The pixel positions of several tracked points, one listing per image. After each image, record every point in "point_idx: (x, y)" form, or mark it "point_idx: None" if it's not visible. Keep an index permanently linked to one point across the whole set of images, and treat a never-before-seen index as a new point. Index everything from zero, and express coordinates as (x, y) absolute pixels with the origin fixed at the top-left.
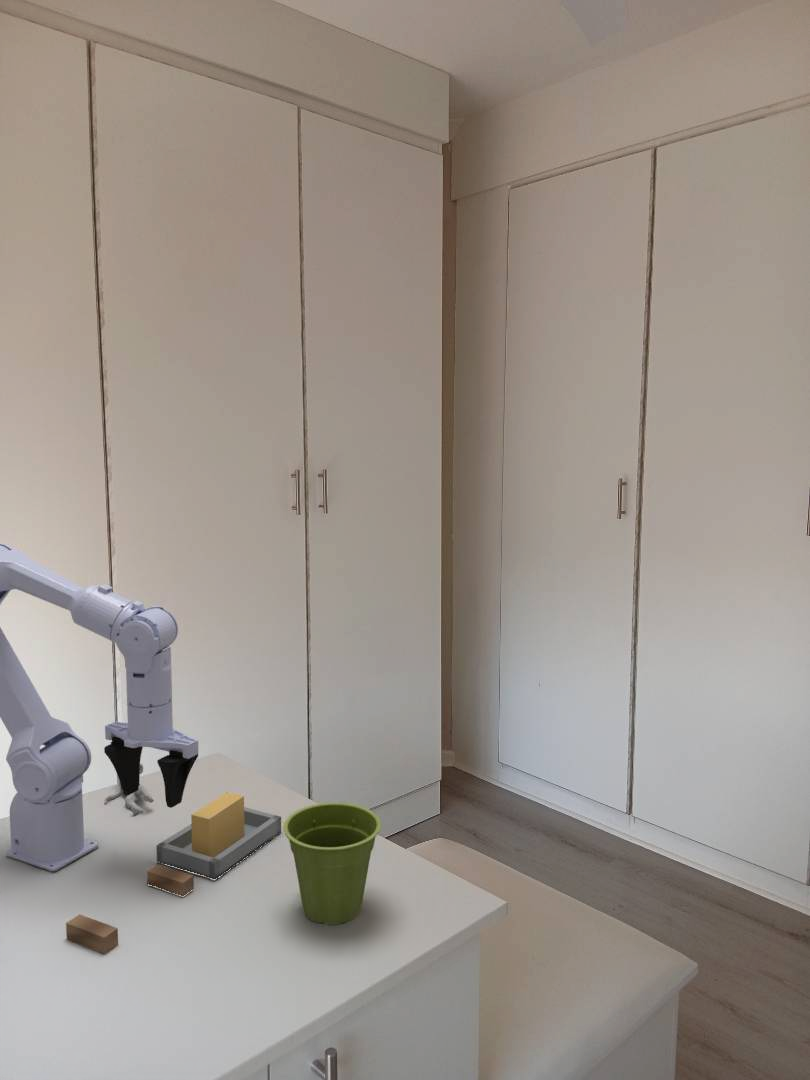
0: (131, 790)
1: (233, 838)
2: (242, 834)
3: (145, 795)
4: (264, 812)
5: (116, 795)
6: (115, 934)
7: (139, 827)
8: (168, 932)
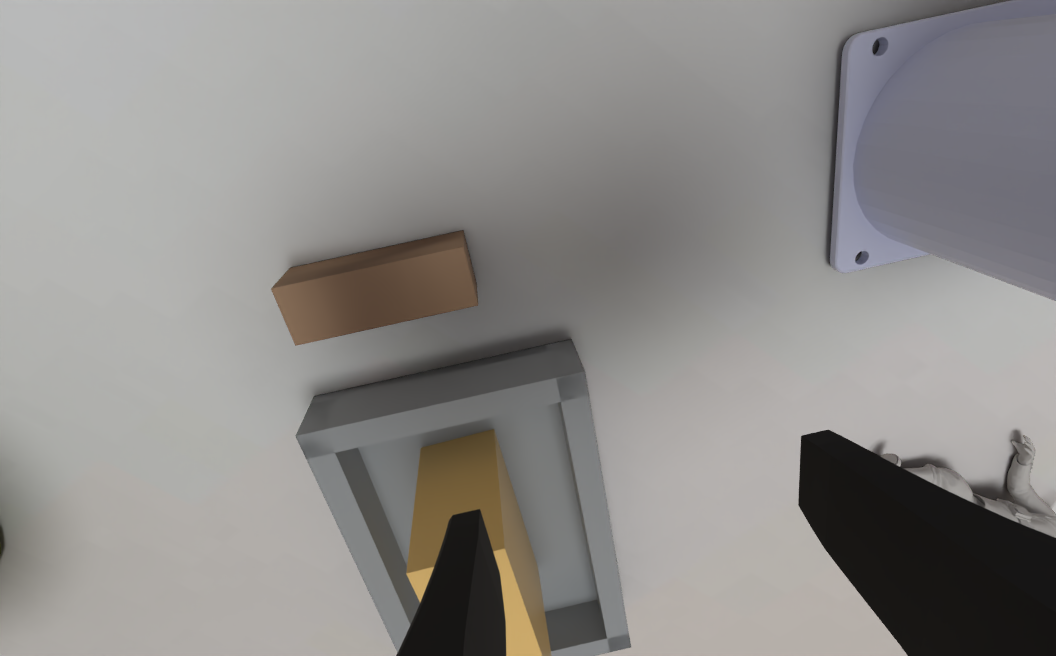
0: (811, 477)
1: None
2: None
3: None
4: None
5: (1013, 477)
6: None
7: (804, 423)
8: (86, 81)
